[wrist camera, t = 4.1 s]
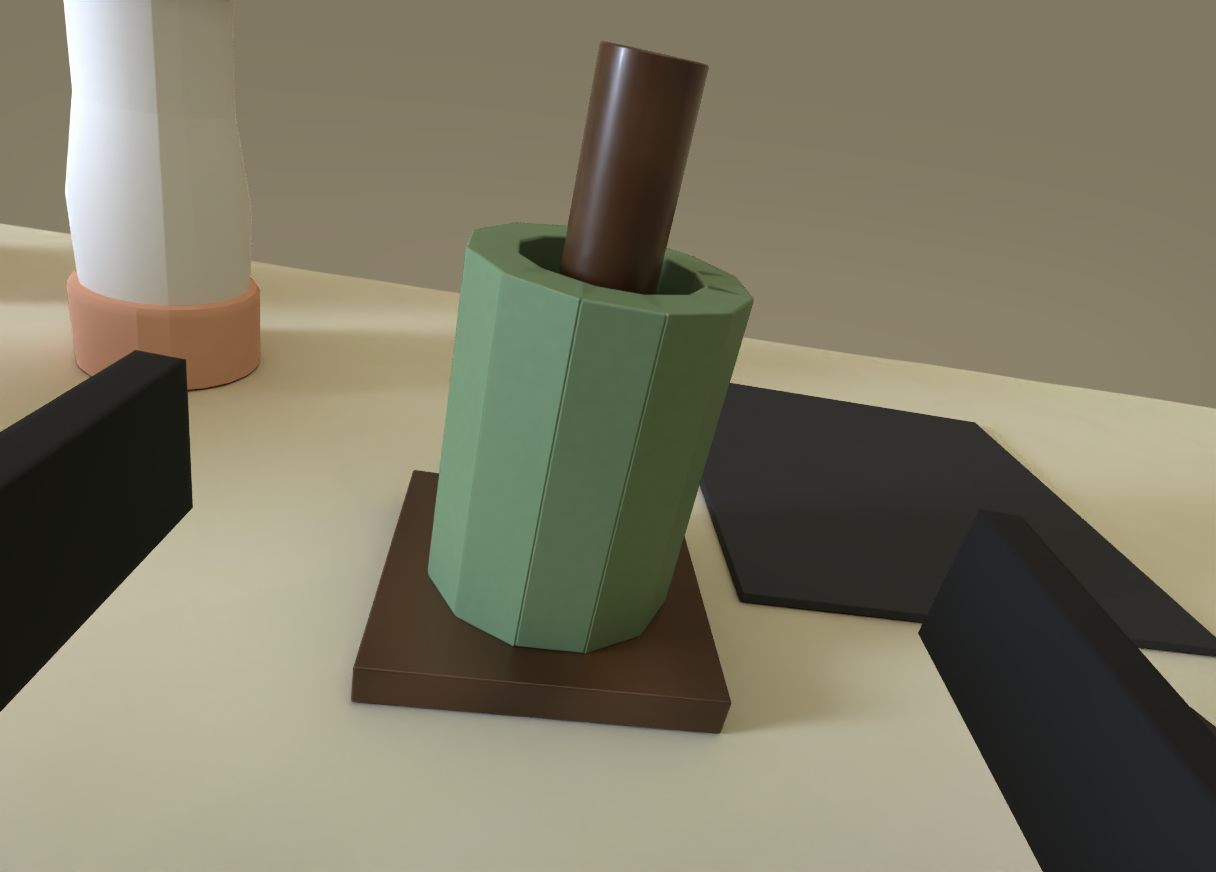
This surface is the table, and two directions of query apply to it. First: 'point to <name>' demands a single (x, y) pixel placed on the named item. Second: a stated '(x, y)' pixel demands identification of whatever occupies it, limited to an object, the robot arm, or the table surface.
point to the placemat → (893, 513)
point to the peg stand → (406, 595)
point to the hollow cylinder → (575, 438)
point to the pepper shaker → (158, 189)
